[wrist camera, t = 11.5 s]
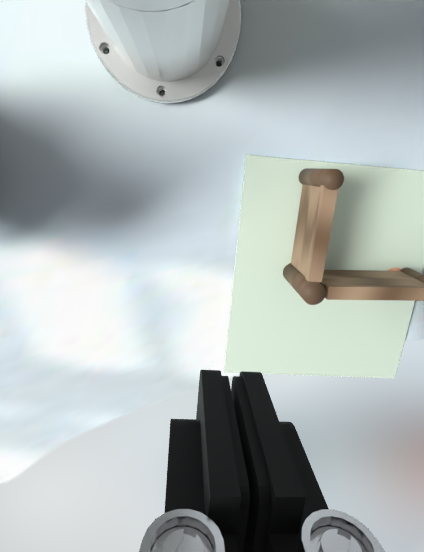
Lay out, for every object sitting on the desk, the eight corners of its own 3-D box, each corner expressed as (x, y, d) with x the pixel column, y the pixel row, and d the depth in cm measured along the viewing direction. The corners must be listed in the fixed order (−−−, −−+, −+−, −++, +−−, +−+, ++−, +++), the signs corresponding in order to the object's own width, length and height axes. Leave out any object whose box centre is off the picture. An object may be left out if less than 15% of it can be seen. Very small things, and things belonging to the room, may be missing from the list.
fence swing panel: (304, 281, 37) (332, 309, 30) (306, 264, 37) (335, 288, 30) (411, 283, 38) (463, 310, 31) (415, 266, 38) (468, 290, 30)
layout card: (246, 155, 34) (246, 154, 34) (445, 173, 36) (448, 173, 35) (223, 370, 40) (224, 372, 40) (393, 376, 42) (395, 378, 42)
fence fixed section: (297, 167, 34) (323, 167, 28) (318, 169, 34) (348, 169, 28) (281, 280, 37) (301, 304, 31) (300, 281, 38) (323, 305, 31)
